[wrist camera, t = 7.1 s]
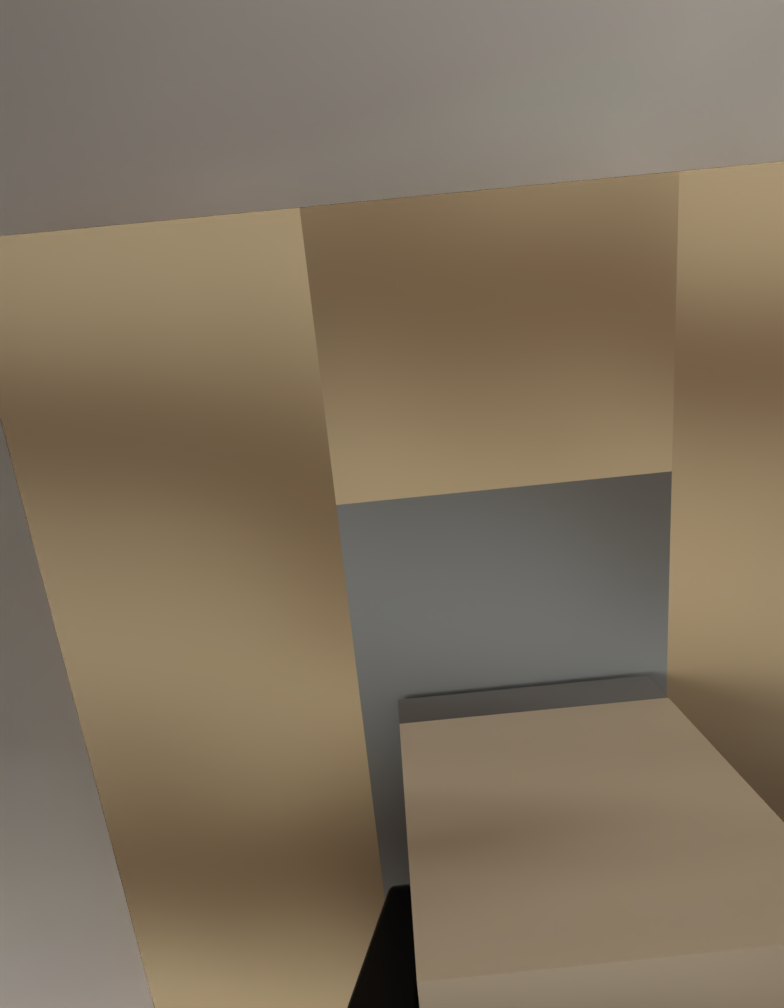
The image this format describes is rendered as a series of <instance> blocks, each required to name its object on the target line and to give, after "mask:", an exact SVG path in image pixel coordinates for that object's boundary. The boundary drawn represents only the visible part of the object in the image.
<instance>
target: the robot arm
mask: <svg viewBox="0 0 784 1008" xmlns="http://www.w3.org/2000/svg"><path fill="white" fill-rule="evenodd" d="M347 1008H419V998H418V988H417V977H416V962H415V947H414V932H413V917H412V903H411V888H410V884H406V885H396V886H392V887H391V888H390V889H389V891H388V893H387V895H386V898H385V901H384V904H383V907H382V910H381V913H380V915H379V918H378V921H377V924H376V927H375V930H374V933H373V935H372V938H371V941H370V944H369V947H368V950H367V953H366V955H365V958H364V961H363V964H362V967H361V970H360V973H359V975H358V978H357V981H356V984H355V987H354V990H353V992H352V995H351V998H350V1001H349V1004H348V1007H347Z"/></svg>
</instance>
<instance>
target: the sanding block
mask: <svg viewBox="0 0 784 1008" xmlns="http://www.w3.org/2000/svg"><path fill="white" fill-rule="evenodd" d="M398 709H399V724H400V739H401V754H402V769H403V784H404V798H405V813H406V828H407V843H408V858H409V873H410V888H411V903H412V917H413V932H414V947H415V962H416V977H417V988H418V998H419V1008H784V822H783V821H782V820H781V819H780V818H779V817H778V816H777V815H776V813H775V812H774V811H773V810H772V809H771V808H770V807H769V806H768V805H767V804H766V803H765V802H764V800H763V799H762V798H761V797H760V796H759V795H758V794H757V793H756V792H755V791H754V790H753V789H752V787H751V786H750V785H749V784H748V783H747V782H746V781H745V780H744V779H743V778H742V777H741V776H740V775H739V773H738V772H737V771H736V770H735V769H734V768H733V767H732V766H731V765H730V764H729V763H728V762H727V760H726V759H725V758H724V757H723V756H722V755H721V754H720V753H719V752H718V751H717V750H716V749H715V747H714V746H713V745H712V744H711V743H710V742H709V741H708V740H707V739H706V738H705V737H704V736H703V735H702V733H701V732H700V731H699V730H698V729H697V728H696V727H695V726H694V725H693V724H692V723H691V722H690V720H689V719H688V718H687V717H686V716H685V715H684V714H683V713H682V712H681V711H680V710H679V709H678V707H677V706H676V705H675V704H674V703H673V702H672V701H671V700H670V699H669V698H668V697H667V696H666V695H665V693H664V692H663V691H662V690H661V689H660V688H659V687H658V686H657V685H656V684H655V683H654V682H653V680H652V679H651V678H650V677H649V676H648V675H647V676H637V677H627V678H616V679H606V680H596V681H585V682H575V683H565V684H554V685H544V686H534V687H523V688H513V689H503V690H492V691H482V692H472V693H461V694H451V695H441V696H430V697H420V698H410V699H400V700H398Z"/></svg>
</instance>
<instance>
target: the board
mask: <svg viewBox="0 0 784 1008" xmlns="http://www.w3.org/2000/svg"><path fill="white" fill-rule="evenodd" d="M0 419H1V423H2V427H3V431H4V435H5V438H6V442H7V446H8V450H9V454H10V458H11V461H12V465H13V469H14V473H15V477H16V481H17V484H18V488H19V492H20V496H21V500H22V503H23V507H24V511H25V515H26V519H27V523H28V526H29V530H30V534H31V538H32V542H33V546H34V549H35V553H36V557H37V561H38V565H39V568H40V572H41V576H42V580H43V584H44V588H45V591H46V595H47V599H48V603H49V607H50V610H51V614H52V618H53V622H54V626H55V630H56V633H57V637H58V641H59V645H60V649H61V653H62V656H63V660H64V664H65V668H66V672H67V675H68V679H69V683H70V687H71V691H72V695H73V698H74V702H75V706H76V710H77V714H78V718H79V721H80V725H81V729H82V733H83V737H84V740H85V744H86V748H87V752H88V756H89V760H90V763H91V767H92V771H93V775H94V779H95V782H96V786H97V790H98V794H99V798H100V802H101V805H102V809H103V813H104V817H105V821H106V825H107V828H108V832H109V836H110V840H111V844H112V847H113V851H114V855H115V859H116V863H117V867H118V870H119V874H120V878H121V882H122V886H123V890H124V893H125V897H126V901H127V905H128V909H129V912H130V916H131V920H132V924H133V928H134V932H135V935H136V939H137V943H138V947H139V951H140V954H141V958H142V962H143V966H144V970H145V974H146V977H147V981H148V985H149V989H150V993H151V997H152V1000H153V1004H154V1008H347V1007H348V1004H349V1001H350V998H351V995H352V992H353V990H354V987H355V984H356V981H357V978H358V975H359V973H360V970H361V967H362V964H363V961H364V958H365V955H366V953H367V950H368V947H369V944H370V941H371V938H372V935H373V933H374V930H375V927H376V924H377V921H378V918H379V915H380V913H381V910H382V907H383V904H384V901H385V898H386V895H387V893H388V891H389V889H390V888H391V887H392V886H396V885H406V884H410V873H409V858H408V843H407V828H406V813H405V798H404V784H403V769H402V754H401V739H400V724H399V709H398V700H400V699H410V698H420V697H430V696H441V695H451V694H461V693H472V692H482V691H492V690H503V689H513V688H523V687H534V686H544V685H554V684H565V683H575V682H585V681H596V680H606V679H616V678H627V677H637V676H647V675H648V676H649V677H650V678H651V679H652V680H653V682H654V683H655V684H656V685H657V686H658V687H659V688H660V689H661V690H662V691H663V692H664V693H665V695H666V696H667V697H668V698H669V699H670V700H671V701H672V702H673V703H674V704H675V705H676V706H677V707H678V709H679V710H680V711H681V712H682V713H683V714H684V715H685V716H686V717H687V718H688V719H689V720H690V722H691V723H692V724H693V725H694V726H695V727H696V728H697V729H698V730H699V731H700V732H701V733H702V735H703V736H704V737H705V738H706V739H707V740H708V741H709V742H710V743H711V744H712V745H713V746H714V747H715V749H716V750H717V751H718V752H719V753H720V754H721V755H722V756H723V757H724V758H725V759H726V760H727V762H728V763H729V764H730V765H731V766H732V767H733V768H734V769H735V770H736V771H737V772H738V773H739V775H740V776H741V777H742V778H743V779H744V780H745V781H746V782H747V783H748V784H749V785H750V786H751V787H752V789H753V790H754V791H755V792H756V793H757V794H758V795H759V796H760V797H761V798H762V799H763V800H764V802H765V803H766V804H767V805H768V806H769V807H770V808H771V809H772V810H773V811H774V812H775V813H776V815H777V816H778V817H779V818H780V819H781V820H782V821H783V822H784V161H781V162H770V163H760V164H749V165H739V166H728V167H718V168H708V169H697V170H687V171H676V172H666V173H655V174H645V175H634V176H624V177H613V178H603V179H593V180H582V181H572V182H561V183H551V184H540V185H530V186H519V187H509V188H498V189H488V190H478V191H467V192H457V193H446V194H436V195H425V196H415V197H404V198H394V199H383V200H373V201H363V202H352V203H342V204H331V205H321V206H310V207H300V208H289V209H279V210H268V211H258V212H248V213H237V214H227V215H216V216H206V217H195V218H185V219H174V220H164V221H153V222H143V223H133V224H122V225H112V226H101V227H91V228H80V229H70V230H59V231H49V232H38V233H28V234H17V235H7V236H0Z"/></svg>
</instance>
